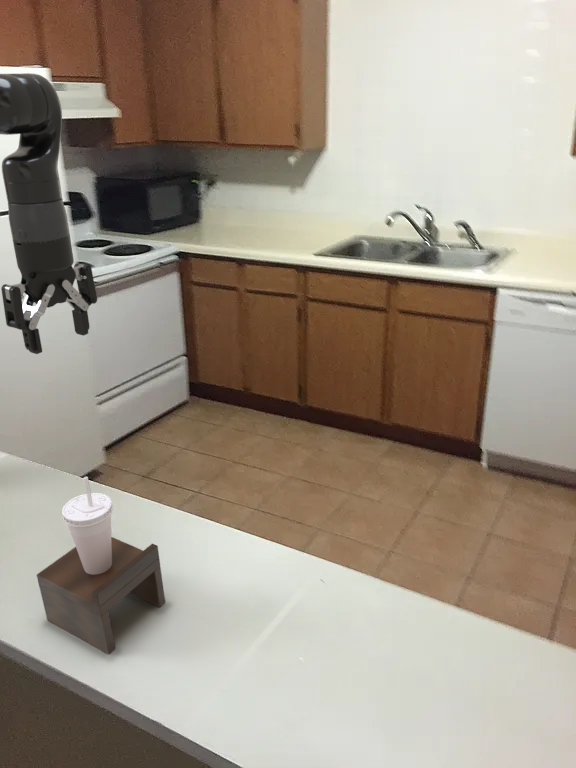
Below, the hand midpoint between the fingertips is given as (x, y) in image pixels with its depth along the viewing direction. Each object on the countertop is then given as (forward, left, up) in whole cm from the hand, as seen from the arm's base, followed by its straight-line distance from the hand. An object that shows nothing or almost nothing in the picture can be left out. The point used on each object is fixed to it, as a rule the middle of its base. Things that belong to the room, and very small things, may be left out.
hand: (59, 343), depth 99 cm
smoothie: (+17, -13, -25) cm, 33 cm away
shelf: (+17, -13, -33) cm, 39 cm away
